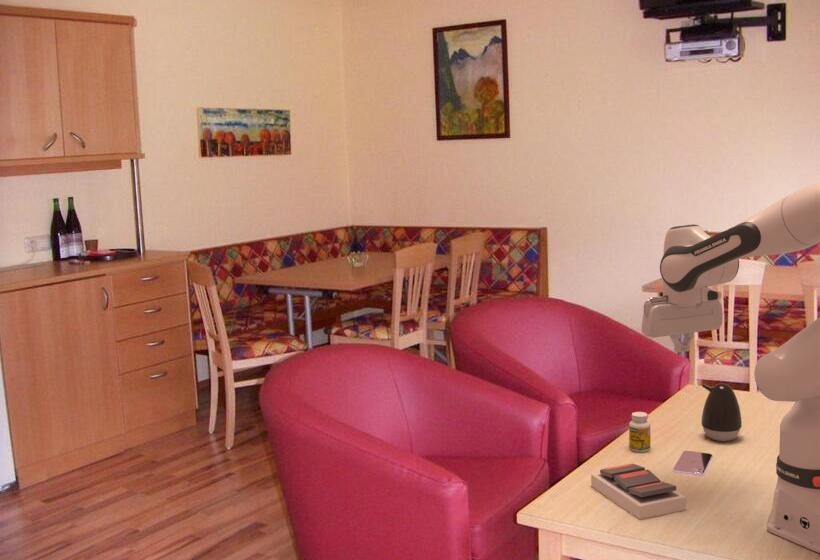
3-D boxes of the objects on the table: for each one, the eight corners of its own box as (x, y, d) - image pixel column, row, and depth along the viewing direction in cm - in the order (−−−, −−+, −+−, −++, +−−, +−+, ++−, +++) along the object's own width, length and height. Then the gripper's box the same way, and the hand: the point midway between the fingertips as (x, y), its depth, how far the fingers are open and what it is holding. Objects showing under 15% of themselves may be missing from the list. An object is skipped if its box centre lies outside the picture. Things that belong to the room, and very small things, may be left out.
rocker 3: (676, 490, 201) (676, 485, 201) (641, 497, 198) (641, 492, 198) (663, 486, 206) (662, 481, 206) (628, 492, 203) (628, 487, 203)
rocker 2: (660, 484, 207) (660, 480, 206) (626, 490, 204) (626, 486, 203) (647, 473, 211) (648, 469, 211) (614, 479, 208) (614, 475, 208)
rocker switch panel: (686, 509, 201) (686, 496, 200) (639, 519, 197) (639, 505, 196) (634, 478, 219) (634, 465, 219) (591, 486, 215) (591, 473, 215)
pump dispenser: (708, 429, 251) (709, 376, 249) (746, 436, 245) (748, 381, 242) (694, 439, 243) (695, 385, 241) (733, 447, 237) (734, 391, 234)
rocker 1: (645, 471, 212) (644, 467, 212) (611, 478, 209) (611, 473, 209) (633, 467, 217) (632, 463, 217) (600, 473, 214) (599, 469, 214)
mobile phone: (713, 453, 232) (703, 473, 219) (713, 456, 232) (703, 477, 219) (683, 449, 235) (671, 469, 222) (683, 452, 235) (671, 473, 222)
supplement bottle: (652, 447, 239) (652, 412, 237) (647, 454, 234) (647, 418, 233) (632, 444, 242) (632, 409, 240) (626, 451, 237) (626, 415, 235)
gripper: (652, 300, 205) (651, 359, 207) (727, 291, 211) (726, 349, 214) (636, 295, 211) (635, 353, 213) (710, 287, 217) (708, 343, 220)
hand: (681, 351), depth 214 cm, fingers closed
